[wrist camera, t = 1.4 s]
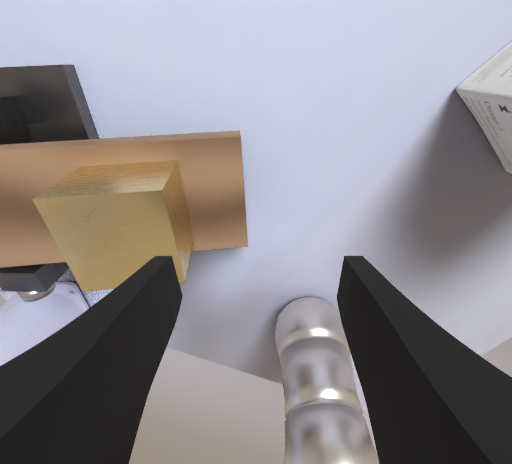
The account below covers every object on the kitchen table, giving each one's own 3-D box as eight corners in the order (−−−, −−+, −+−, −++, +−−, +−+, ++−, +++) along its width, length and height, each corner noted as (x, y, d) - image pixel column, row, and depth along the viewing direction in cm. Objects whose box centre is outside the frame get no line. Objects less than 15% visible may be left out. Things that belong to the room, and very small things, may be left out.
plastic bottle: (267, 327, 27) (263, 750, 10) (284, 281, 24) (316, 813, 7) (327, 337, 28) (414, 759, 11) (352, 293, 24) (541, 823, 7)
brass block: (193, 238, 17) (184, 281, 13) (112, 245, 16) (82, 291, 13) (177, 160, 14) (162, 189, 11) (80, 166, 14) (32, 199, 10)
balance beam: (244, 214, 21) (247, 246, 17) (-162, 245, 19) (-257, 289, 16) (237, 121, 17) (240, 136, 14) (-268, 149, 16) (-426, 176, 12)
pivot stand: (139, 255, 23) (102, 309, 18) (31, 254, 23) (-35, 307, 18) (73, 64, 15) (-25, 64, 10) (-84, 71, 16) (-249, 75, 11)
